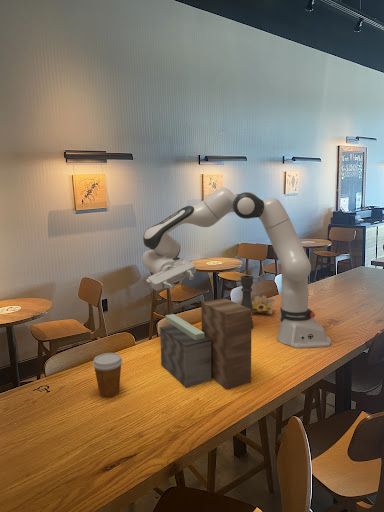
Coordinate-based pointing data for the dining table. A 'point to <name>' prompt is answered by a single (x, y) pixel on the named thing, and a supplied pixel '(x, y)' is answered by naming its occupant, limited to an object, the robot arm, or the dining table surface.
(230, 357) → the plinth
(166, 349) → the dark wood grain brick
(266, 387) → the dining table surface
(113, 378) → the disposable coffee cup
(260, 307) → the decorative flower
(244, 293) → the candle holder
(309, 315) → the robot arm
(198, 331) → the slat
